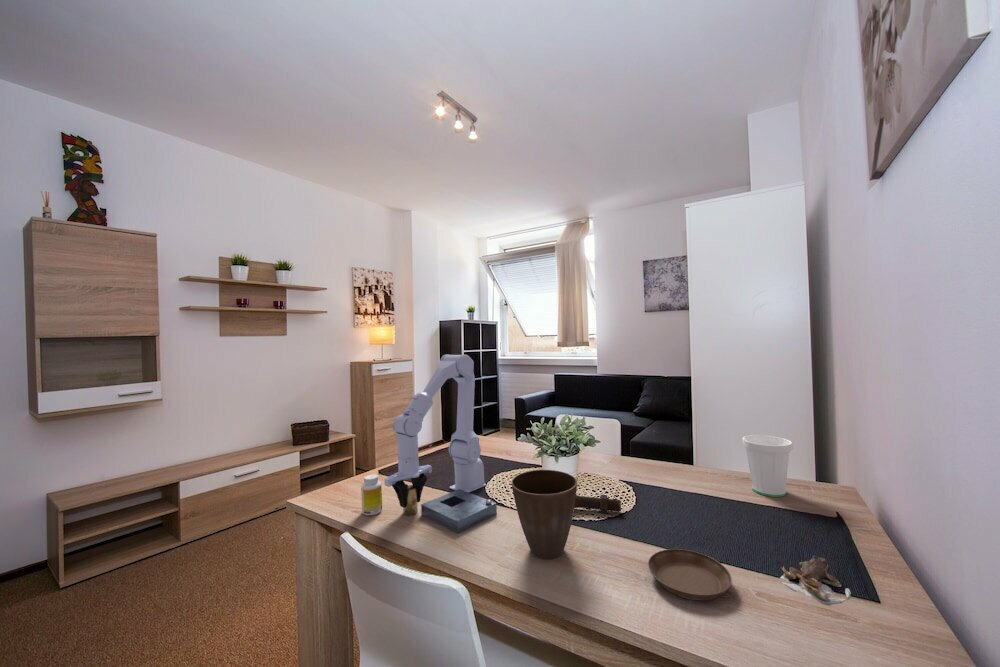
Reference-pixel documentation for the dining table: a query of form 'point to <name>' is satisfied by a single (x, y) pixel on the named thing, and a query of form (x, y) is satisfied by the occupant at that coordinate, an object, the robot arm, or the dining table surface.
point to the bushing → (411, 501)
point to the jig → (458, 510)
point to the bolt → (598, 503)
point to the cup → (768, 463)
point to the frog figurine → (814, 580)
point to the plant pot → (545, 509)
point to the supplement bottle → (371, 495)
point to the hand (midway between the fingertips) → (410, 503)
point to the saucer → (689, 574)
